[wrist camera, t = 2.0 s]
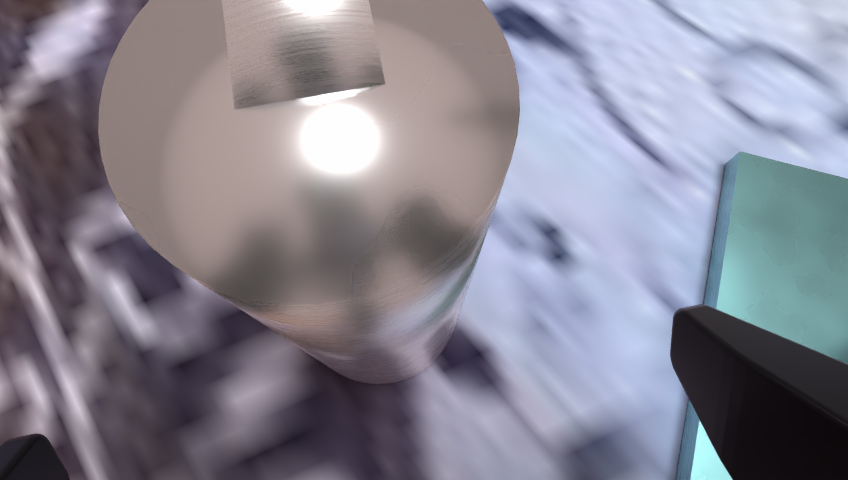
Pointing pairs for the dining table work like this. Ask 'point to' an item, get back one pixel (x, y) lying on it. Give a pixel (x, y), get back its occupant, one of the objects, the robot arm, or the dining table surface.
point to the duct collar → (775, 270)
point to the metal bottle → (317, 162)
